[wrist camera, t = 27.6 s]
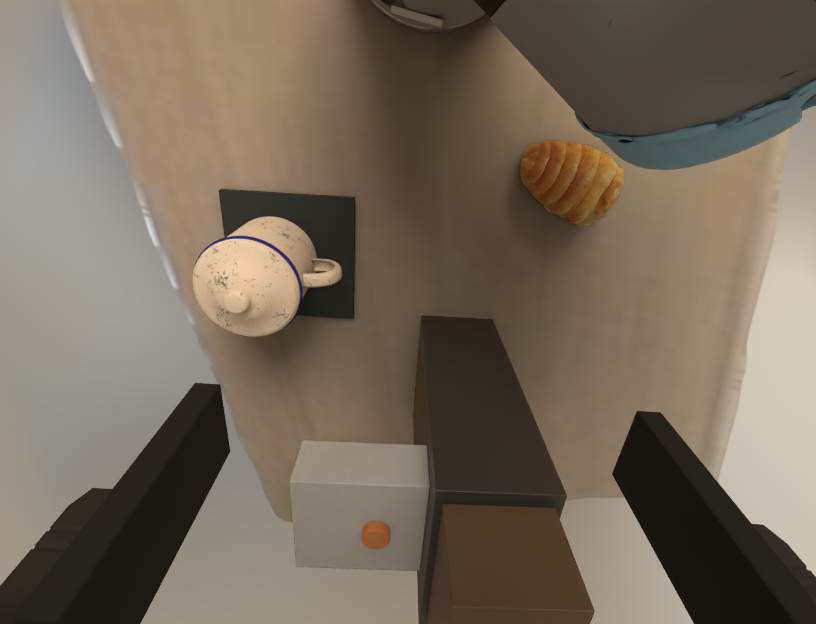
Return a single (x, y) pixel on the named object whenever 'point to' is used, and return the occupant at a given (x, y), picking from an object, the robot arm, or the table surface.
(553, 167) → the pastry
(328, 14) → the table surface
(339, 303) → the rubber mat
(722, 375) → the table surface
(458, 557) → the coffee maker
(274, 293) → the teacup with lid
